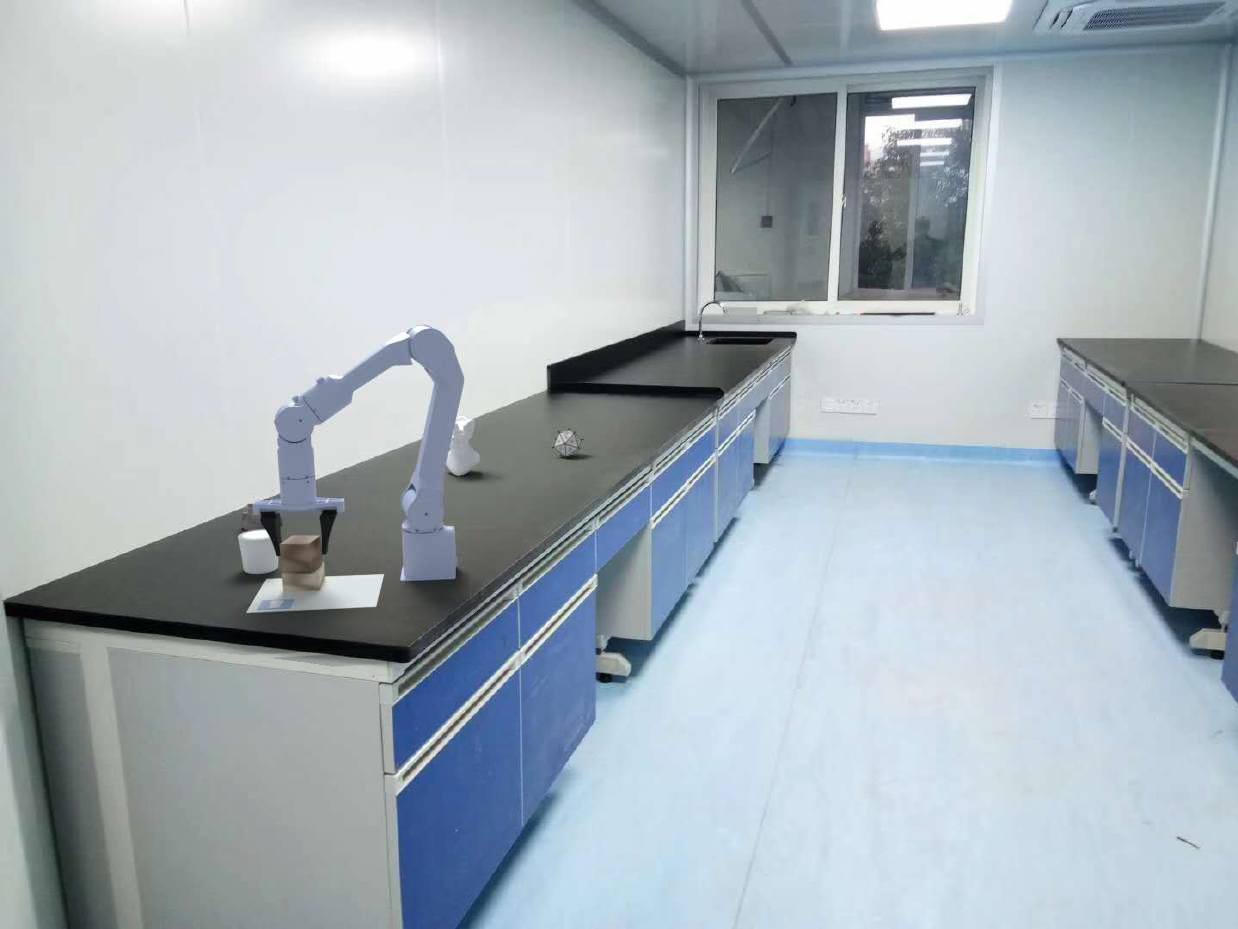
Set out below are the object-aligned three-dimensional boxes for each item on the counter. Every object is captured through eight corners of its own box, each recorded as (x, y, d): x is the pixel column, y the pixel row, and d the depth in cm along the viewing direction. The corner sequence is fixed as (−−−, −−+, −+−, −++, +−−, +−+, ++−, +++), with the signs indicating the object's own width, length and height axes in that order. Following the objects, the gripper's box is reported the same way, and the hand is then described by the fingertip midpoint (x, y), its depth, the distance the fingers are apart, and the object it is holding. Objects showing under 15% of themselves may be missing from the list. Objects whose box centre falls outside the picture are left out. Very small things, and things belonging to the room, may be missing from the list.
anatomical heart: (483, 471, 251) (482, 414, 248) (472, 480, 240) (471, 422, 237) (447, 469, 252) (445, 413, 249) (435, 479, 241) (433, 421, 238)
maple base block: (324, 578, 166) (324, 562, 166) (320, 590, 160) (318, 573, 160) (289, 579, 165) (288, 563, 165) (282, 591, 159) (281, 574, 159)
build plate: (384, 576, 169) (384, 573, 169) (376, 609, 153) (376, 605, 153) (266, 581, 166) (266, 578, 166) (246, 615, 150) (245, 611, 150)
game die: (574, 470, 269) (591, 445, 264) (547, 462, 266) (563, 436, 260) (571, 449, 276) (587, 425, 270) (544, 441, 272) (560, 416, 267)
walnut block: (323, 563, 164) (320, 535, 163) (311, 572, 159) (308, 544, 158) (295, 563, 165) (292, 535, 164) (282, 572, 160) (279, 544, 159)
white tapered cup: (286, 565, 175) (284, 528, 173) (274, 577, 168) (271, 539, 166) (248, 565, 174) (245, 528, 173) (235, 577, 168) (232, 539, 166)
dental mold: (240, 534, 193) (238, 511, 192) (243, 525, 200) (241, 502, 199) (281, 532, 195) (280, 508, 194) (283, 522, 202) (282, 500, 201)
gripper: (345, 469, 164) (349, 545, 167) (256, 471, 161) (262, 548, 164) (339, 478, 157) (344, 557, 160) (247, 481, 155) (253, 561, 158)
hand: (302, 553), depth 162 cm, fingers open, 7 cm apart
